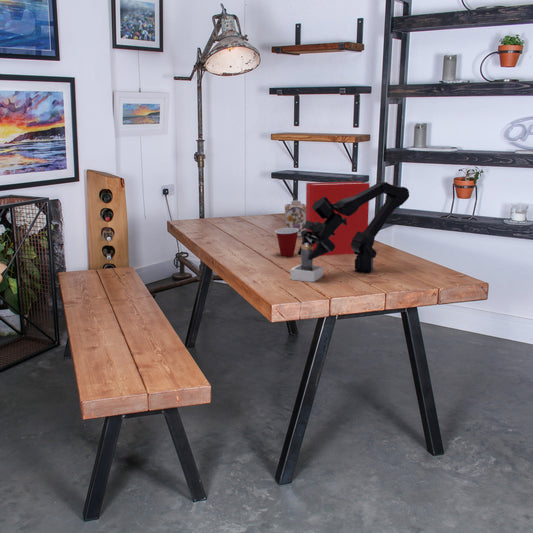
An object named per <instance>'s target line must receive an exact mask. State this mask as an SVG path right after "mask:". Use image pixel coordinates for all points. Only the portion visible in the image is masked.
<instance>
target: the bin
mask: <svg viewBox="0 0 533 533" xmlns="http://www.w3.org/2000/svg"><path fill="white" fill-rule="evenodd" d="M323 272H324V266H320V265H313V271H305V270H301V263H300V264H298V265H295V266H294V267H292V268H290V280H293V281H298V282H299V281H302V282H307V281H308V282H307V283H315V282H316V281H317V280H319V279H321V278H323V277H324V275H323V274H324V273H323Z"/></svg>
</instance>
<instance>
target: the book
mask: <svg viewBox="0 0 533 533" xmlns="http://www.w3.org/2000/svg"><path fill="white" fill-rule="evenodd" d="M305 186H306V187H305V192H306V193H305V205H306V220H307V221H310V222H313V223H315V222H316V221H317V222H320V223H323V222H324V221H325V220H326V219H325V218H324V219H322V218H321V217H320V216H319V215H318V214H317V213H316V212H315V211H314V210H313V209H312V206H313V204H314V203H315V202H316V201H318V200H319V199H321V198H322V197H327V199H328V200H329V201H330V203H331V204H334V203H337V202H338V201H339V200H341V199H344V198H348V197H353V196H355V195H357V194H359V193H361V192H362V191H364V190H366V189H368V188H370V183H369V182H364V181H363V180H361V181H360V180H359V181H331V182H330V181H327V182H326V181H325V182H324V181H323V182H306V185H305ZM369 203H370V201H368V202H366V203H365V204H363V205H361V206H360V207H359V209H358V210H357V211H356V212H355V213H354V214H352V215H351V216H345V215H342V214H340V215H341V216H342V217H343V218H346V219H347V220H346V221H347V225H343V224H341V225H340V226H339V227H338V228H337V229H336V230H335V232H334V233H335V235H334V236H332V235H331V236H330V238H329V239H330V240H331V241H332V242H333V243H334V244H335V249H334V250H333V251H332V252H331V251H329V253H325V254H323V255H321V256H320V257H323V256H339V255H341V256H342V255H355V254H354V251H353V250H352V248H351V242H352V238H353V237H354V236H355V235H356V233H357V232H358V231H359V232H363V231H365V229H366V228H367V227H368V225H369V208H370V207H369V205H370V204H369ZM334 212H335V213H336V214H339V213H337V211H334ZM306 230H308V229H306ZM308 231H311V230H308ZM313 235H314V234H313ZM316 243H317V242H316ZM316 243H315V244H313V245H314V246H313V250H314V249H315V248H316Z"/></svg>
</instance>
